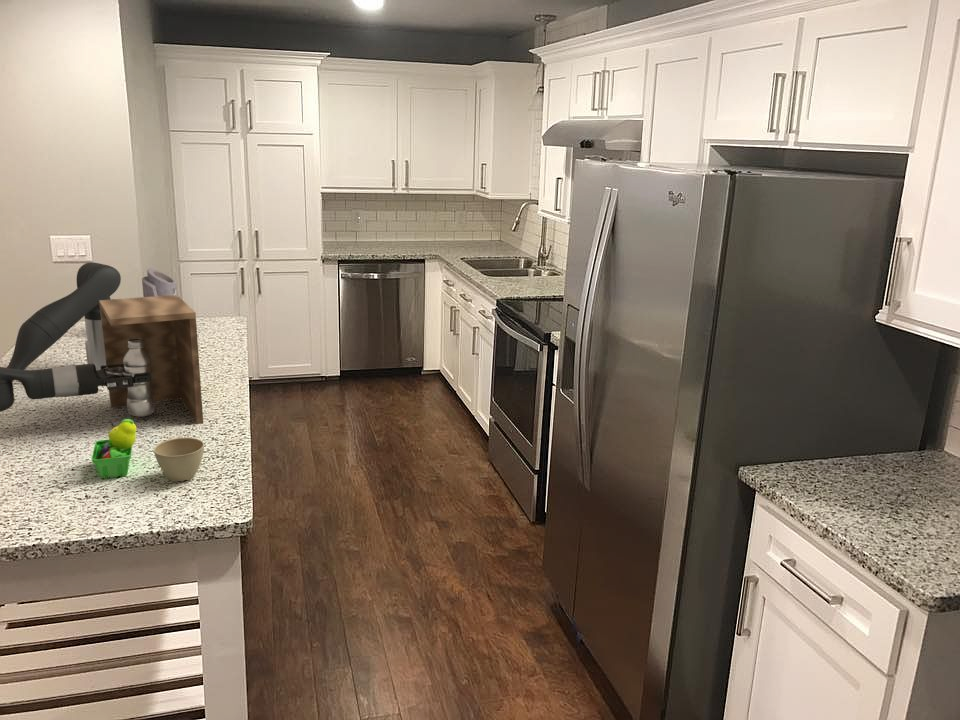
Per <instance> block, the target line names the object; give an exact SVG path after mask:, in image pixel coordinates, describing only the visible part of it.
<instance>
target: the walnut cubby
mask: <svg viewBox="0 0 960 720" xmlns="http://www.w3.org/2000/svg"><path fill="white" fill-rule="evenodd" d="M99 304H100V313H101V322H102V332H103V341H104V350H105V360H106V365H119V364H123V359H124V356H125V354H126V353H127V352H128V350H129V348H128V340H129V339H133V338H141V339H144V345H145V347H144V350H145V351H146V352H147V353H148V354H149V356H150V358H151V370H150V373H151V381H150V385H151V390H152V396H153V399H154V403H161V402H167V401H168V402H169V401H175V400H181V402H182V404H183V405H184V406H185V408H186V409H187V411H188V412H189V414H190V415H191V417H192V418H193V420H194V421H195V422H196V424H197V425H199V424H204V414H203V399H202V398H203V396H202V385H201V372H200V371H201V370H200V357H199V343H198V342H199V341H198V329H197V328H198V326H197V316H196V311H195V310H193V308H191V306H190V305H188V304H187V303H186V302H185V301H184V300H183V299H182V298H181V297H180V296H179V295H178V294H177V295H169V296H155V297H143V296H142V297H130V298H127V297H126V298H116V299H115V298H111V300H99ZM126 381H127V380H126ZM108 396H109V404H110V405H109V406H110V409H115V408H114V407H117V408H122V407H121V406H124V407H127V399H128V387H127V388H120V389H113V390H108Z"/></svg>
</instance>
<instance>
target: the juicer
mask: <svg viewBox="0 0 960 720" xmlns="http://www.w3.org/2000/svg"><path fill="white" fill-rule="evenodd" d="M146 275H147V276H143V277H142V278H141V284H142V293H143V296H142V297H155V296H169V295H178V283H177V282H176V280H175V279H174V278H172V277H171V276H170V275H168V274H167V273H166V274H165V273H164V272H162V271H159V270H157V269H153V268H147V270H146Z"/></svg>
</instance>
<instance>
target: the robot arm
mask: <svg viewBox="0 0 960 720" xmlns="http://www.w3.org/2000/svg"><path fill="white" fill-rule="evenodd" d="M121 278H122V277H121V274H120V271H118V269H116V268H115V267H113V266H110V265H107V264H104V263H98V262H93V261H91V262H86V263H84V264H82V265H81V266H80V267H79V269H78V270H77V272H76V289H75V290H73V291H72V292H71V293H69V294H68V295H66V296H64V297H62V298H59V299H57V300H55V301H52V302H51V303H48V304H46V305H45V306H43V307H41V308H40V309H38V310H37V311H36V312H34V313H33V314H32V315H31V316H30V317H29V318H27V319H26V320H25V321H24V322H23V323H22V324H21V325H20V327H19V329H18V333H17V336H16V341H15V345H14V350H13V353H12V356H11V357H10V358H11V359H10V361H9V363H8V364H7V366H6V367H3V366H0V412H4V411H6V410H9V409H11V407H12V406H13V404H14V403H15V393H14V385H13V382H14V381H18V382H19V383H21V384H22V386H23V388H24V392H25V394H26V396H27V398H28V399H30V400H42V399H52V398H70V397H79V396H88V395H95V394H98V393H99V387H106V389H107V391H109V390H113V389H120V388H127V387H133V386H134V384H135V383H140V382H149V381H151V373H149V372H147V373H137V374H126V372H125V368H124V364H119V365H106V360H105V350H104V341H103V332H102V322H101V313H100V304H99V300H112V298H111V296H112V295H114V293H116V291H118V289H119V287H120V285H121V281H122V279H121ZM83 318H84V323H85V324H84V325H85V331H86V333H85V334H86V341H85V342H84V343H85V344H84V345H85V354H86V361H87V363H83V364H74V365H64V366H63V365H62V366H58V367H53V368H42V369H27V368H28V367H29V366H30V365H32V363H33V362H34V361H35V360H36V359H38V358H39V357H40V356H41V355H42V354H44V353H45V352H46V351H47V350H48V349H50V348H51V347H52V346H53V345H54V344H55V343H57V342H58V341H59V340H60V339H61V338H62V337H63V336H64V335H65V334H66V333H67V332H68V331H70V330H71V328H73V327H74V326H75V325H76V324H77V323H78V322H79V321H81V319H83ZM126 380H128V381H126Z"/></svg>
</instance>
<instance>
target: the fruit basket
mask: <svg viewBox="0 0 960 720" xmlns="http://www.w3.org/2000/svg"><path fill="white" fill-rule="evenodd" d="M134 422H135V421H134V420H133V419H130V418H124V419H123V420H121V422H120V423H119V424H118V425H117V426H114V428H112V429H111V430H110V431H109V432H108V436H107V437H108V439H102V440H97V441H95V443H94V448H93V452H92V455H91V462H92V464H93V465H94V466H95V468H96V471H97V474H98V476H99V478H100V479H101V478H104V479H110V478H109V477H113V478H119V477H118V476H120V477H127V476H128V473H129V467H130V461H131V460H130V459H131V458H132V452H133V451H132V450H133V445H134V444H135V443H136V438H137V433H136V432H137V426H136V424H135V423H134ZM126 475H127V476H126ZM106 477H108V478H106Z"/></svg>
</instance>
